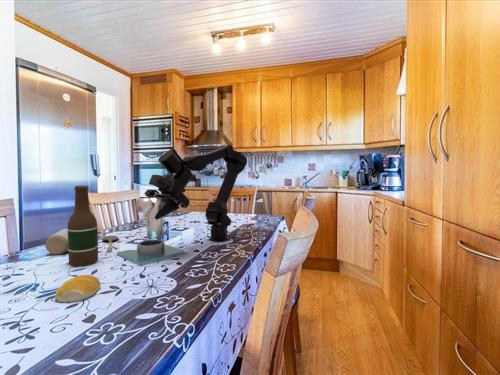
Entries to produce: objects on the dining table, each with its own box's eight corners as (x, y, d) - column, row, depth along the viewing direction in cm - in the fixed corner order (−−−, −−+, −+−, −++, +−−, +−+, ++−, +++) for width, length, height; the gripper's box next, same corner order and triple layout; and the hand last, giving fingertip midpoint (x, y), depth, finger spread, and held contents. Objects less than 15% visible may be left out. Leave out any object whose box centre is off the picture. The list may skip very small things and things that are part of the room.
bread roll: (103, 284, 67) (103, 269, 67) (91, 301, 58) (90, 283, 58) (66, 287, 65) (66, 271, 65) (48, 305, 56) (47, 287, 56)
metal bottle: (157, 234, 91) (156, 196, 90) (166, 236, 88) (165, 197, 87) (136, 239, 85) (135, 198, 84) (145, 241, 82) (144, 199, 81)
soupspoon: (119, 240, 115) (102, 242, 112) (119, 232, 115) (101, 235, 112) (119, 252, 95) (98, 255, 92) (118, 242, 95) (97, 245, 92)
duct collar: (159, 245, 102) (159, 235, 102) (184, 253, 92) (184, 242, 92) (117, 255, 90) (116, 243, 90) (140, 265, 80) (140, 252, 80)
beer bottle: (84, 268, 78) (81, 186, 77) (62, 266, 80) (59, 186, 78) (104, 259, 86) (101, 185, 84) (83, 258, 87) (81, 185, 86)
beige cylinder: (43, 256, 89) (43, 233, 89) (56, 249, 97) (56, 228, 97) (78, 255, 91) (78, 232, 91) (88, 248, 99) (87, 228, 99)
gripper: (148, 166, 95) (118, 200, 87) (181, 165, 83) (150, 204, 75) (168, 187, 101) (142, 220, 93) (201, 189, 90) (174, 227, 82)
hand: (151, 218), depth 86 cm, fingers closed on metal bottle, 5 cm apart
